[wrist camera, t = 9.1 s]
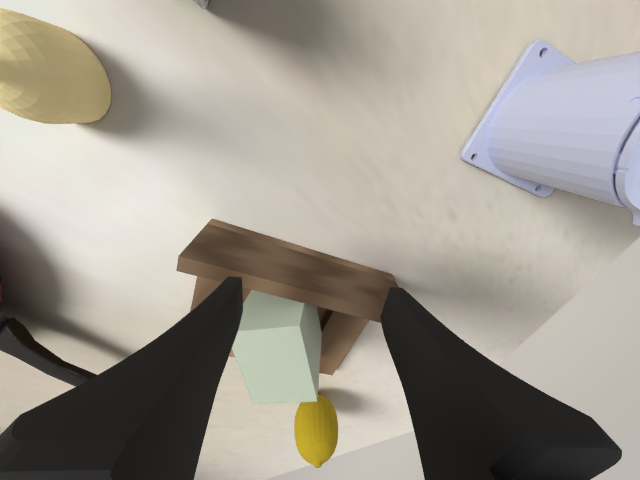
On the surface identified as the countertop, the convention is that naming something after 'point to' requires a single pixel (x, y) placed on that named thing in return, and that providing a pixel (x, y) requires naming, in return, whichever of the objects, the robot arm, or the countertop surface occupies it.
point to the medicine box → (202, 3)
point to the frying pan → (37, 352)
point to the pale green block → (278, 349)
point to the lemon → (316, 430)
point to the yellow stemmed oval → (49, 73)
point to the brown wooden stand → (290, 281)
